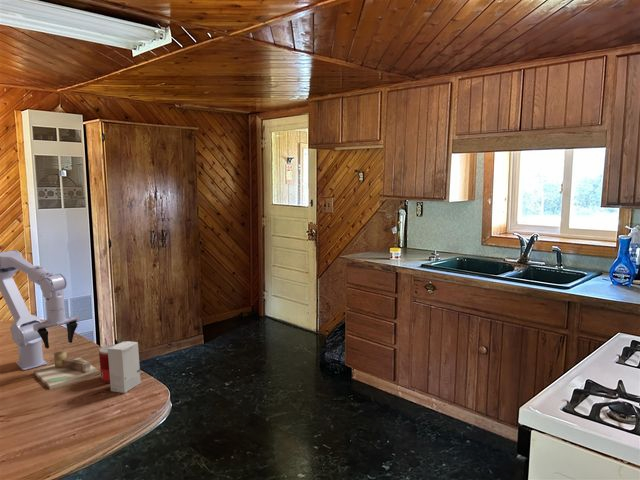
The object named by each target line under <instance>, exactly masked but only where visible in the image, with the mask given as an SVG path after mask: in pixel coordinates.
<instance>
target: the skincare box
mask: <svg viewBox="0 0 640 480" xmlns="http://www.w3.org/2000/svg"><path fill="white" fill-rule="evenodd" d="M108 359H109V372H110V383H109V384H110V391H111V392H116V393H119V394H126V393H128V392H129V391H130V390H132V389H134V388H135V387H136V386H139V385H140V384H141V382H142V381H141V367H140V354H139V342H138V341H128V340H127V341H125V340H124V341H121V342H120V343H116V345H115V346H113V347H110V348H108Z"/></svg>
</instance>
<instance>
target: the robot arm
mask: <svg viewBox="0 0 640 480" xmlns="http://www.w3.org/2000/svg"><path fill="white" fill-rule="evenodd" d="M18 271H21V272H23V273H24V274H26V275H27V278H28V279H29V280H30V281H31V282H33V283H35V284H37V285H38V286H39V289H40V291H41V292H42V296H43V298H45V309H46V310H45V311H46V320H45V321H41V320H40V317H38V316H36V315H33V314H31V313H30V311H29V308H28V307H27V305H26V302H25V300H24V298H23V297H22V294H21V292H20V290H19V288H18V286H17V284H16V282H15V280H14V275H15V274H17V272H18ZM66 287H67V279H66V278H65V276H64V275H63V274H62V273H53V272H52V271H49V270H48V269H46V268H45V267H44V266H43V265H41V264H40V265H33V264H32V263H31V262H30V261H28V260H27V259H26V258H25V257H23V253H22V252H20V251H19V250H17V249H12V250H7V251H1V252H0V293H1V295H2V298H3V299H4V301H5V303H6V305H7V307H8V310H9V311H10V314H11V316H12V318H13V320H14V321H13V323H12V324H11V326H10V328H9V330H10V332H11V339H12V341H13V342H14V344H16V345H18V346H17V352H18V353H17V354H18V361H16V365H17V366H18V367H19V368H20V369H21V370H22V371H27V370H31V369H34V368H38V367H42V366H44V365H47V364H48V362H47V361H46V360H45V359H44V352H43V346H44V348H45V349H49V348H50V344H49V343H50V342H49V331H48V330H47V329H48V328H52V327H57V326H62V325H66V330H67V341H68V343H70V344H72V343H73V339H74V335H75V332H76V329H77V328H78V322H79V323H80V316H79V315H70V316H66V307H65V306H66V305H65V294H64V289H66ZM43 343H44V344H43Z"/></svg>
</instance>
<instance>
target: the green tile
mask: <svg viewBox="0 0 640 480" xmlns="http://www.w3.org/2000/svg"><path fill="white" fill-rule="evenodd" d="M62 380H67V376H64V377H58V378H52V379H51V380H50V382H56V381H62Z"/></svg>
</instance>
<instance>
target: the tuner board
mask: <svg viewBox="0 0 640 480" xmlns="http://www.w3.org/2000/svg"><path fill="white" fill-rule="evenodd" d="M73 359H74V360H79V361H84V362H87V360H85V359H84V358H82V357H81V356H80V357H77V358H73ZM90 369H91V370H90V371H88V372H86V373H84V374H83V373H79V372H81V371H79V370H74V369H69V368H64V367H62V368H56V367H55V363H54V364H50V365H47V366H43V367H40V368H37V369H34V370H33V374H34V375H35V376H36V377H37V378H38V379H39V380H40V381H41V382H42V383H43V384H44V385H45V386H46V387H47V388H48V389H49V390H53V389H56V388H59V387H62V386H66V385H69V384H72V383H76V382H78V381H82V380H85V379H88V378H91V377H94V376H98V375H101V371H100V370H99V369H97V368H96V367H95V366H94V365H92V364H91V363H90ZM64 376H67V380H62V381H56V382H50V380H51V379H52V378H58V377H64Z"/></svg>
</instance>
